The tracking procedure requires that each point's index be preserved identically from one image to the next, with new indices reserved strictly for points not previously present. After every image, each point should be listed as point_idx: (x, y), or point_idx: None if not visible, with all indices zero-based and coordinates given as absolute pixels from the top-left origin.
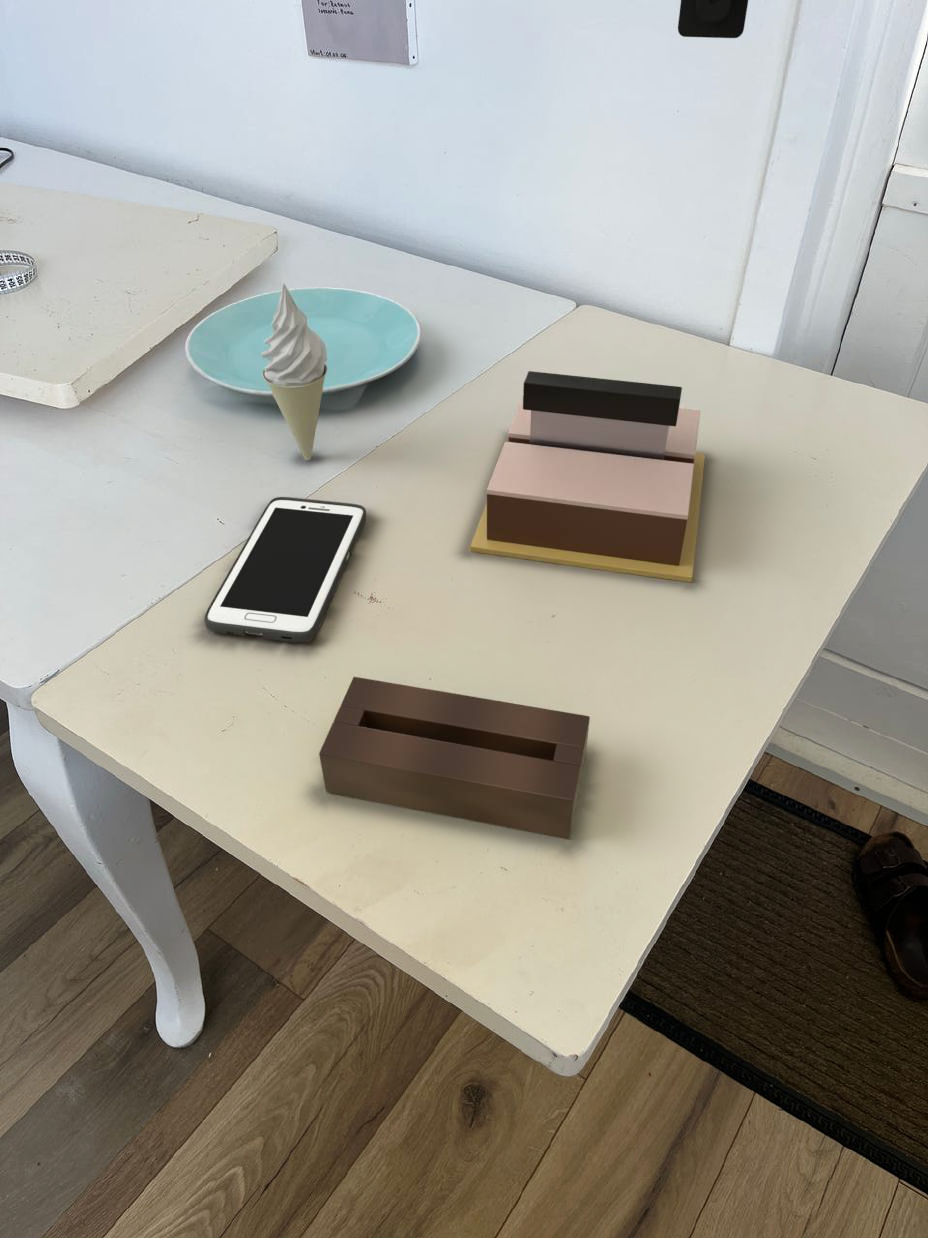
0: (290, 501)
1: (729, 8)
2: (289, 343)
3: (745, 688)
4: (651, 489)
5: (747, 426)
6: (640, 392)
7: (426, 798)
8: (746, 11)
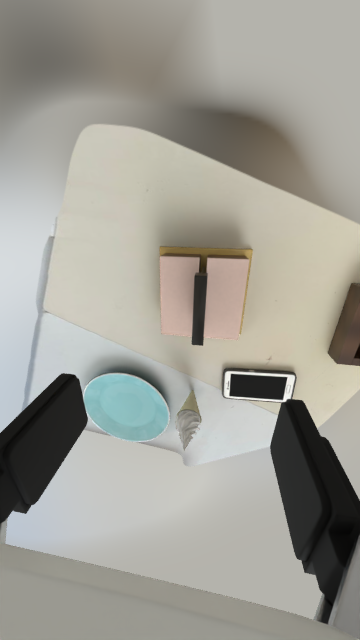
0: (225, 392)
1: (329, 443)
2: (193, 430)
3: (317, 224)
4: (231, 276)
5: (127, 225)
6: (203, 295)
7: None
8: (311, 418)
